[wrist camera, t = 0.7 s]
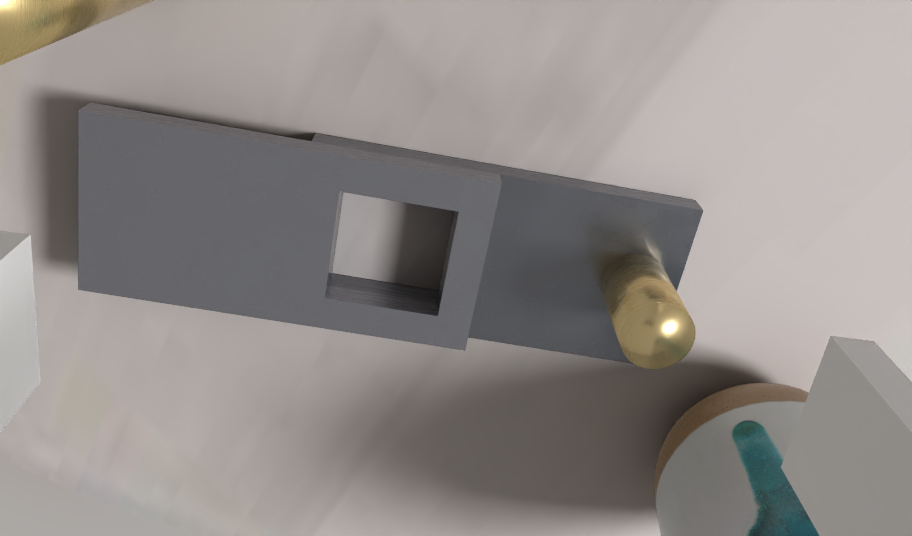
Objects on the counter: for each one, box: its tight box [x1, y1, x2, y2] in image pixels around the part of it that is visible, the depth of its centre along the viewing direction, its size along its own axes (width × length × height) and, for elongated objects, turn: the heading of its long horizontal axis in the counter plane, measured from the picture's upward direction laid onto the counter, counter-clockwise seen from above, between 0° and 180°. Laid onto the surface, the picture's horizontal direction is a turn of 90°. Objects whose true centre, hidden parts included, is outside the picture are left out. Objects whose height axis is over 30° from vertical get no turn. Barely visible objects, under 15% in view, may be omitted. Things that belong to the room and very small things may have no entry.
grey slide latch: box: [78, 102, 703, 369], centre depth 35 cm, size 8×26×6 cm, turn 79°
